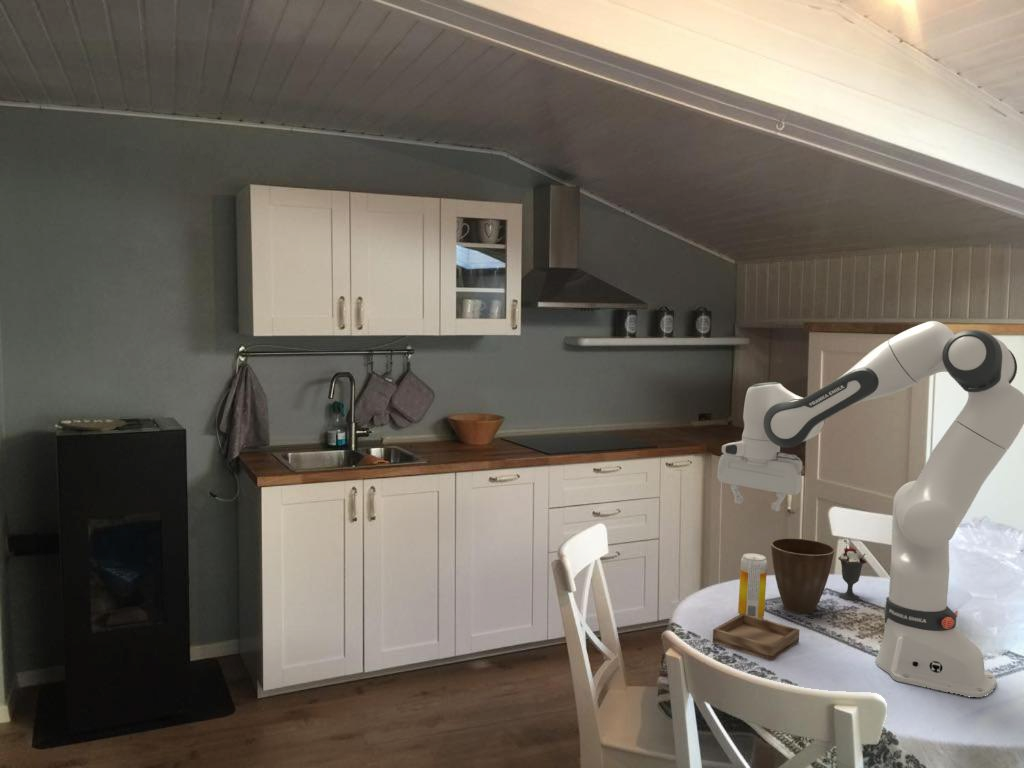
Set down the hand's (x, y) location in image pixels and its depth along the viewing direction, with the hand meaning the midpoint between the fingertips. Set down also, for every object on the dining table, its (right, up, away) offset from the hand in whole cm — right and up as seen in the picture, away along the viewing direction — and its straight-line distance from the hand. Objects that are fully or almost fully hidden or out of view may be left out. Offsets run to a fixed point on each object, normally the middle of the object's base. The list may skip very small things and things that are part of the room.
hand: (756, 506), depth 207 cm
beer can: (-1, -27, +3) cm, 27 cm away
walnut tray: (-4, -29, -13) cm, 32 cm away
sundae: (+29, -26, +19) cm, 44 cm away
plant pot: (+13, -27, +9) cm, 31 cm away
